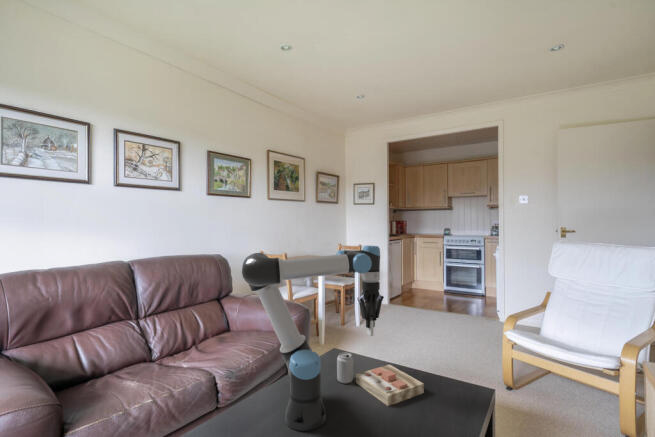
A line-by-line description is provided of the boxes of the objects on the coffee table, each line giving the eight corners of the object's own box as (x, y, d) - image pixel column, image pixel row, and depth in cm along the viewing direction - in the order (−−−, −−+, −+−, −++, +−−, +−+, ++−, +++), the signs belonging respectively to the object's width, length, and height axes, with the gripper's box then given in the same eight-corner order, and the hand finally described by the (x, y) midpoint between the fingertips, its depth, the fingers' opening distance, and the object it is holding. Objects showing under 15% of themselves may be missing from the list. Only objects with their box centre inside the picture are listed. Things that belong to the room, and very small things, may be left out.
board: (387, 406, 130) (387, 394, 130) (356, 383, 149) (356, 373, 149) (423, 392, 140) (423, 382, 140) (389, 372, 159) (389, 363, 159)
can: (353, 384, 147) (353, 358, 147) (337, 384, 147) (337, 357, 147) (352, 376, 155) (352, 351, 155) (337, 376, 155) (336, 351, 155)
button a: (399, 395, 135) (399, 386, 135) (392, 390, 139) (392, 382, 139) (407, 392, 137) (407, 383, 137) (400, 388, 141) (400, 379, 141)
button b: (388, 384, 141) (388, 376, 141) (381, 380, 145) (381, 372, 145) (395, 382, 143) (395, 373, 143) (389, 378, 147) (389, 370, 147)
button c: (378, 381, 147) (378, 373, 147) (372, 377, 151) (372, 369, 151) (385, 378, 149) (385, 370, 149) (379, 375, 153) (379, 367, 153)
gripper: (363, 283, 136) (362, 339, 136) (388, 281, 142) (387, 335, 142) (353, 280, 143) (352, 334, 142) (377, 278, 149) (376, 330, 149)
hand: (370, 334), depth 142 cm, fingers closed
